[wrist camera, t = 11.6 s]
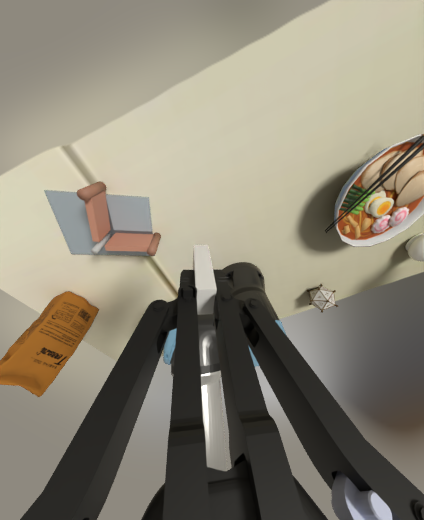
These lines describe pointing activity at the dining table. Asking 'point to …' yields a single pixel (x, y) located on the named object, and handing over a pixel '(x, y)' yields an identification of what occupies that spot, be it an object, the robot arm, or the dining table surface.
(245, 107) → the dining table surface
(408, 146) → the ramen bowl
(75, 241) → the card
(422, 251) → the flower vase
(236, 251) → the dining table surface
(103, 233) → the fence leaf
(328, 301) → the game die
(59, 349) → the coffee package
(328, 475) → the robot arm
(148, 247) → the panel
